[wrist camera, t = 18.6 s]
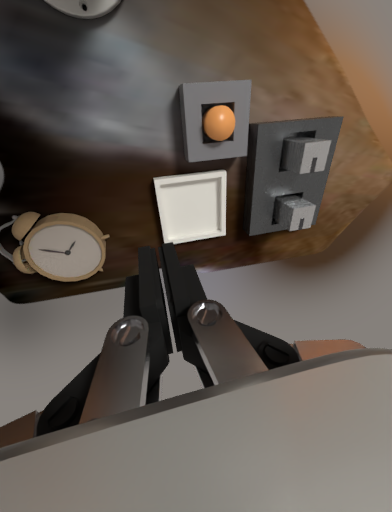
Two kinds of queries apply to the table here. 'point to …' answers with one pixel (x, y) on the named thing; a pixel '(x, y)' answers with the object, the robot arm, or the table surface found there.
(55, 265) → the alarm clock
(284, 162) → the billet
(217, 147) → the button housing
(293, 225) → the block
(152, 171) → the table surface
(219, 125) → the button cap
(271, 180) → the grey slotted frame
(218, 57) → the table surface
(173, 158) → the table surface
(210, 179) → the tray
